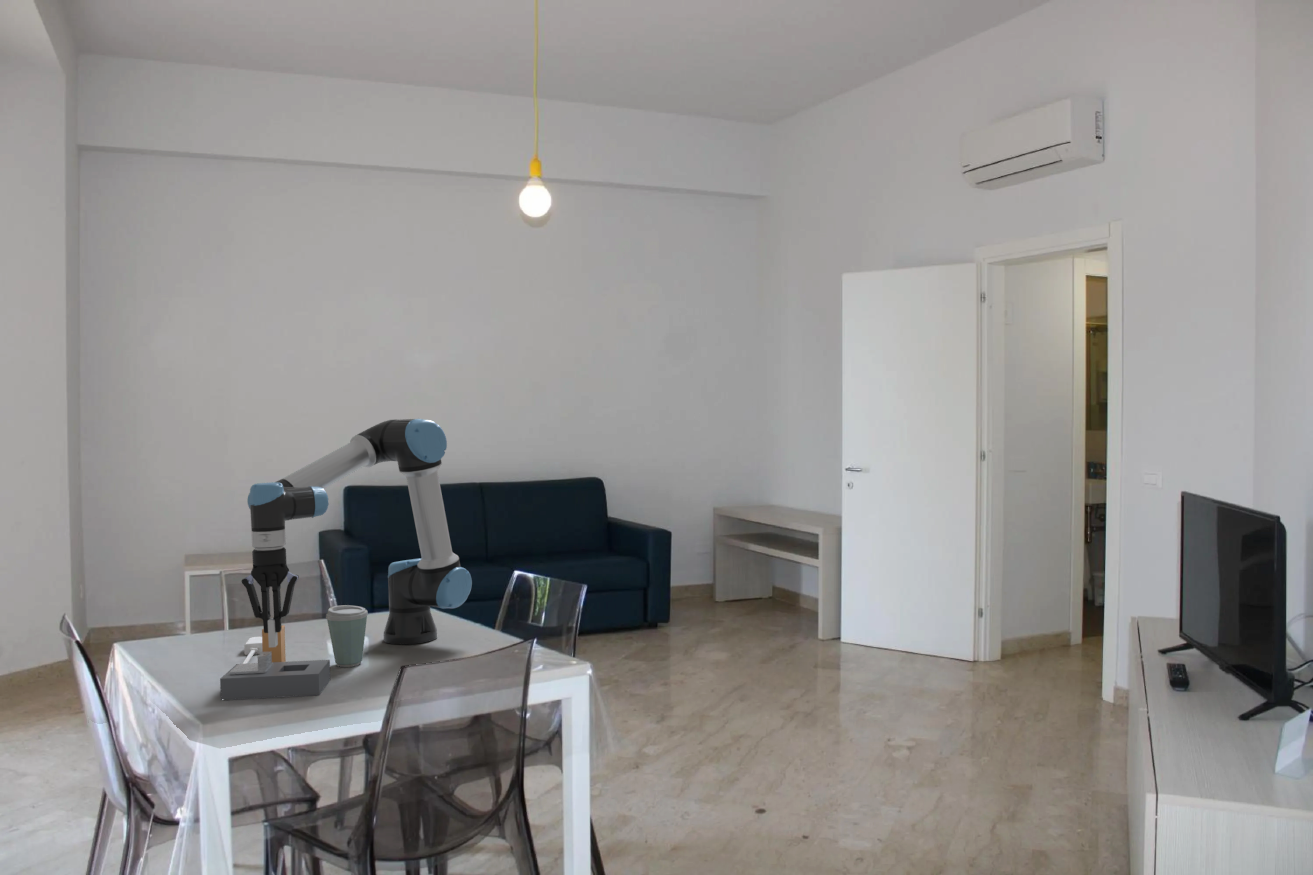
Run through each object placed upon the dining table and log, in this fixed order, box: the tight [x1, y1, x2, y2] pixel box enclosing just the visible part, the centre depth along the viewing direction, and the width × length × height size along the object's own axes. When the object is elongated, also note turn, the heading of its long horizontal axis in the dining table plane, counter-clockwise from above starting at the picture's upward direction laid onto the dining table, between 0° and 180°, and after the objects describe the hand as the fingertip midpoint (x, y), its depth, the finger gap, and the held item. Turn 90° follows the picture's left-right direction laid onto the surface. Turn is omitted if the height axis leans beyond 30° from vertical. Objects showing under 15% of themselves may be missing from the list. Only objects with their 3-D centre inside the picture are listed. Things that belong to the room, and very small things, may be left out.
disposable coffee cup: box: [325, 604, 368, 668], centre depth 270 cm, size 11×11×15 cm
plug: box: [261, 624, 287, 662], centre depth 261 cm, size 4×4×14 cm
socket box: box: [219, 659, 331, 701], centre depth 247 cm, size 22×14×5 cm, turn 98°
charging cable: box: [242, 636, 263, 664], centre depth 279 cm, size 5×32×3 cm, turn 12°
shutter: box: [230, 651, 273, 675], centre depth 246 cm, size 8×8×4 cm
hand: (273, 645), depth 247 cm, fingers closed
